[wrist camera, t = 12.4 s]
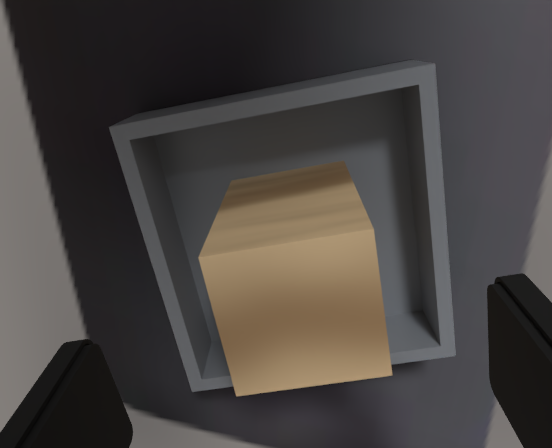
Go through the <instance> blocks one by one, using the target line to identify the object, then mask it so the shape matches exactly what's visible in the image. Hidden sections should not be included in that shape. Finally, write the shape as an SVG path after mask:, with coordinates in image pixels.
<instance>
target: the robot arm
mask: <svg viewBox="0 0 552 448" xmlns="http://www.w3.org/2000/svg"><path fill="white" fill-rule="evenodd" d="M487 300H488V340H489V377H490V384H491V387H492V390H493V393H494V395H495V397H496V398H497V400H498V402H499V404H500V405H501V407H502V409H503V411H504V413H505V415H506V416H507V418H508V420H509V422H510V424H511V425H512V427H513V429H514V431H515V433H516V435H517V436H518V438H519V440H520V442H521V444H522V445H523V447H524V448H552V303H551V302H550V301H549V299H548V298H547V297H546V296H545V295H544V294H543V293H542V292H541V291H540V290H539V289H538V288H537V287H536V285H535V284H534V283H533V282H532V281H531V280H530V279H529V278H528V277H527V276H526V275H525V274H515V275H508V276H502V277H497V278H496V279H495V284H492V285H489V286H488V288H487ZM132 436H133V429H132V424H131V422H130V419H129V417H128V414H127V412H126V409H125V407H124V404H123V402H122V399H121V397H120V395H119V392H118V390H117V387H116V385H115V382H114V380H113V377H112V375H111V373H110V370H109V368H108V365H107V363H106V360H105V358H104V355H103V353H102V351H101V348H100V347H99V345H98V344H93V342H92V341H91V340H88V339H85V340H78V341H72V342H66V343H64V344H63V345H62V346H61V347H60V349H59V350H58V351H57V353H56V354H55V356H54V357H53V359H52V360H51V361H50V363H49V364H48V365H47V367H46V368H45V370H44V371H43V373H42V374H41V375H40V377H39V378H38V380H37V381H36V383H35V384H34V386H33V387H32V388H31V390H30V391H29V393H28V394H27V395H26V397H25V398H24V400H23V401H22V403H21V404H20V405H19V407H18V408H17V410H16V411H15V413H14V414H13V416H12V417H11V418H10V420H9V421H8V423H7V424H6V425H5V427H4V428H3V430H2V431H1V432H0V448H129V446H130V444H131V441H132Z"/></svg>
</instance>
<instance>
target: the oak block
mask: <svg viewBox="0 0 552 448" xmlns="http://www.w3.org/2000/svg"><path fill="white" fill-rule="evenodd" d="M198 258H199V262H200V266H201V269H202V273H203V277H204V280H205V284H206V288H207V291H208V295H209V299H210V302H211V306H212V309H213V313H214V317H215V320H216V324H217V328H218V331H219V335H220V339H221V342H222V346H223V350H224V353H225V357H226V360H227V364H228V368H229V371H230V375H231V379H232V382H233V386H234V390H235V393H236V396H244V395H251V394H259V393H266V392H273V391H281V390H288V389H296V388H303V387H311V386H318V385H325V384H333V383H340V382H348V381H355V380H363V379H370V378H377V377H385V376H392V367H391V360H390V352H389V344H388V336H387V328H386V321H385V313H384V305H383V297H382V289H381V281H380V274H379V266H378V258H377V250H376V242H375V235H374V228H373V226H372V224H371V221H370V219H369V217H368V215H367V212H366V210H365V208H364V205H363V203H362V201H361V199H360V196H359V194H358V192H357V189H356V187H355V185H354V183H353V180H352V178H351V176H350V174H349V171H348V169H347V167H346V164H345V162H344V161H338V162H333V163H327V164H321V165H316V166H310V167H305V168H299V169H294V170H288V171H282V172H277V173H271V174H266V175H260V176H255V177H249V178H243V179H238V180H232V181H231V182H230V185H229V187H228V189H227V192H226V194H225V196H224V199H223V201H222V203H221V206H220V208H219V210H218V213H217V215H216V217H215V220H214V222H213V224H212V227H211V229H210V231H209V234H208V236H207V238H206V241H205V243H204V245H203V248H202V250H201V252H200V255H199V257H198Z"/></svg>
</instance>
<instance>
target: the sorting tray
mask: <svg viewBox="0 0 552 448" xmlns="http://www.w3.org/2000/svg"><path fill="white" fill-rule="evenodd" d="M109 130H110V133H111V136H112V139H113V142H114V145H115V149H116V152H117V155H118V158H119V161H120V164H121V168H122V171H123V174H124V177H125V180H126V184H127V187H128V190H129V193H130V196H131V199H132V203H133V206H134V209H135V212H136V215H137V219H138V222H139V225H140V228H141V231H142V234H143V238H144V241H145V244H146V247H147V250H148V253H149V257H150V260H151V263H152V266H153V269H154V273H155V276H156V279H157V282H158V285H159V288H160V292H161V295H162V298H163V301H164V304H165V307H166V311H167V314H168V317H169V320H170V323H171V327H172V330H173V333H174V336H175V339H176V342H177V346H178V349H179V352H180V355H181V358H182V362H183V365H184V368H185V371H186V374H187V377H188V381H189V384H190V387H191V390H192V392H196V391H203V390H211V389H218V388H225V387H233V382H232V379H231V375H230V371H229V368H228V364H227V360H226V357H225V353H224V350H223V346H222V342H221V339H220V335H219V331H218V328H217V324H216V320H215V317H214V313H213V309H212V306H211V302H210V299H209V295H208V291H207V288H206V284H205V280H204V277H203V273H202V269H201V266H200V262H199V258H198V257H199V255H200V252H201V250H202V248H203V245H204V243H205V241H206V238H207V236H208V234H209V231H210V229H211V227H212V224H213V222H214V220H215V217H216V215H217V213H218V210H219V208H220V206H221V203H222V201H223V199H224V196H225V194H226V192H227V189H228V187H229V185H230V182H231V181H232V180H238V179H243V178H249V177H255V176H260V175H266V174H271V173H277V172H282V171H288V170H294V169H299V168H305V167H310V166H316V165H321V164H327V163H333V162H338V161H344V162H345V164H346V167H347V169H348V171H349V174H350V176H351V178H352V180H353V183H354V185H355V187H356V189H357V192H358V194H359V196H360V199H361V201H362V203H363V205H364V208H365V210H366V212H367V215H368V217H369V219H370V221H371V224H372V226H373V228H374V235H375V242H376V250H377V258H378V266H379V274H380V281H381V289H382V297H383V305H384V313H385V321H386V328H387V336H388V344H389V352H390V360H391V365H393V364H400V363H407V362H415V361H422V360H429V359H437V358H444V357H451V356H456V352H455V338H454V324H453V310H452V295H451V281H450V267H449V253H448V238H447V224H446V210H445V196H444V181H443V167H442V153H441V139H440V125H439V110H438V96H437V82H436V68H435V63H431V62H424V61H418V60H406V61H401V62H396V63H391V64H386V65H381V66H376V67H370V68H365V69H360V70H355V71H350V72H345V73H340V74H335V75H330V76H325V77H320V78H315V79H310V80H305V81H299V82H294V83H289V84H284V85H279V86H274V87H269V88H264V89H259V90H254V91H249V92H244V93H239V94H234V95H228V96H223V97H218V98H213V99H208V100H203V101H198V102H193V103H188V104H183V105H178V106H173V107H168V108H163V109H158V110H152V111H147V112H142V113H137V114H135V115H133V116H131V117H129V118H127V119H125V120H123V121H120V122H118V123H116V124H114V125H112V126H110V127H109Z"/></svg>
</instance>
